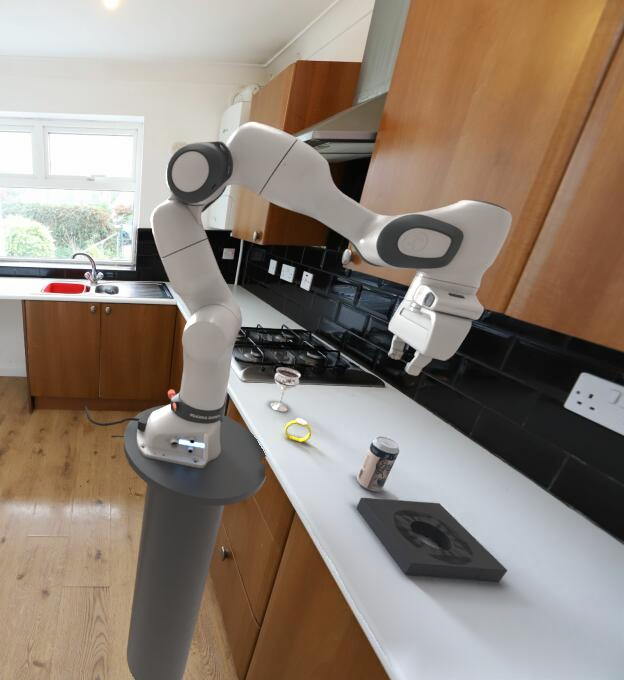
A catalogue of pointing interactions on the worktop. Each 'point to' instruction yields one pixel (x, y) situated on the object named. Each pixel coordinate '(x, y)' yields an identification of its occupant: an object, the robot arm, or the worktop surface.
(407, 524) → the base
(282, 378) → the wineglass
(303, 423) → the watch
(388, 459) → the beer can
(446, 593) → the worktop surface
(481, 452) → the worktop surface
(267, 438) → the worktop surface
